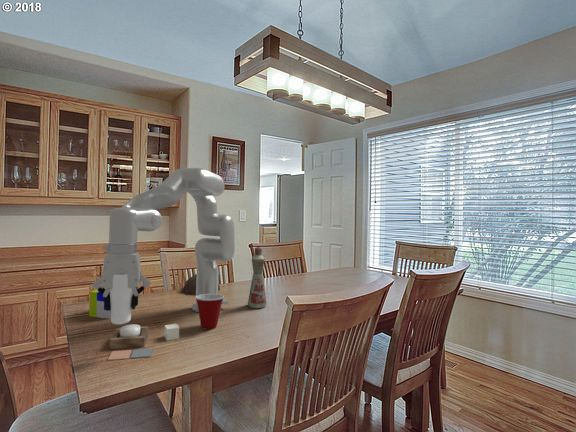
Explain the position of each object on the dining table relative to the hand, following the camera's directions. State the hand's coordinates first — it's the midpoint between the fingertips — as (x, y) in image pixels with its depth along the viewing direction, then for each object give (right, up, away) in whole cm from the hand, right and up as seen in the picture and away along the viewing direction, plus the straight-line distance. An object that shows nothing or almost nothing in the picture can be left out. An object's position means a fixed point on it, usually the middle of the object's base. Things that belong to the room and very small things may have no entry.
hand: (121, 308), depth 97 cm
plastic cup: (+20, -15, +26) cm, 36 cm away
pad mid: (+5, -15, +2) cm, 16 cm away
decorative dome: (+3, -13, +77) cm, 79 cm away
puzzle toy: (-24, -13, +36) cm, 45 cm away
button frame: (-2, -14, +10) cm, 18 cm away
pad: (-1, -14, 0) cm, 14 cm away
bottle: (+36, -15, +54) cm, 66 cm away
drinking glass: (0, -4, 0) cm, 4 cm away
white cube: (+10, -15, +15) cm, 23 cm away
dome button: (-2, -13, +10) cm, 17 cm away
